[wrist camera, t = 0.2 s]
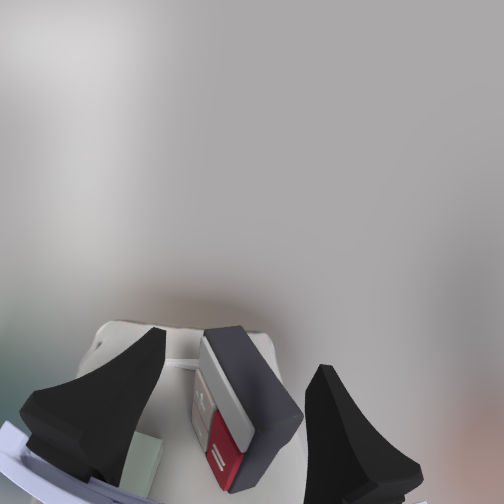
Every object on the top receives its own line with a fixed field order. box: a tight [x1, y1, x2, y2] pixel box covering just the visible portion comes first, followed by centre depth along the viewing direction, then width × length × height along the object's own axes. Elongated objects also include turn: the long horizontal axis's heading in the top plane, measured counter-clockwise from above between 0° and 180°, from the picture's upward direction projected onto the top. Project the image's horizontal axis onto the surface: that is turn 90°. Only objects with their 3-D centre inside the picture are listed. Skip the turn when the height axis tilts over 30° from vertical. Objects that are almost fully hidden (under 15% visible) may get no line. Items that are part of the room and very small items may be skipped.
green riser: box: [118, 431, 164, 498], centre depth 19 cm, size 9×8×3 cm
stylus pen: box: [164, 359, 200, 370], centre depth 38 cm, size 15×3×2 cm, turn 96°
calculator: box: [192, 326, 304, 494], centre depth 23 cm, size 11×4×15 cm, turn 26°
